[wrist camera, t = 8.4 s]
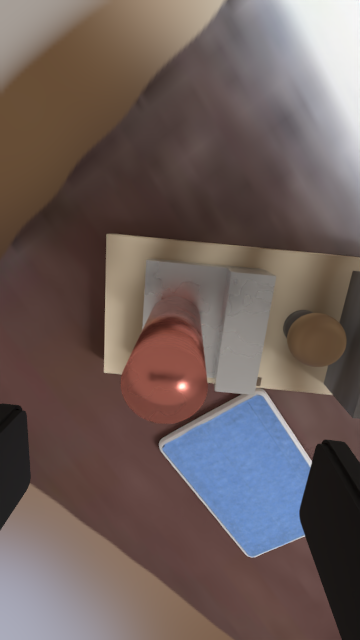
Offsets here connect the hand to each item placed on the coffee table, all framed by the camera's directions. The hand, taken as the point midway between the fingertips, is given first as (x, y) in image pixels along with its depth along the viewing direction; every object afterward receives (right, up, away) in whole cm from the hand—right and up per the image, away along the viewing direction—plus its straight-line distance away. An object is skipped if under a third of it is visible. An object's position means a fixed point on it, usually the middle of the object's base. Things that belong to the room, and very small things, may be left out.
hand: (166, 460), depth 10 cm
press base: (+6, +5, +17) cm, 19 cm away
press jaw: (+2, +5, +15) cm, 16 cm away
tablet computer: (+8, -12, +23) cm, 28 cm away
